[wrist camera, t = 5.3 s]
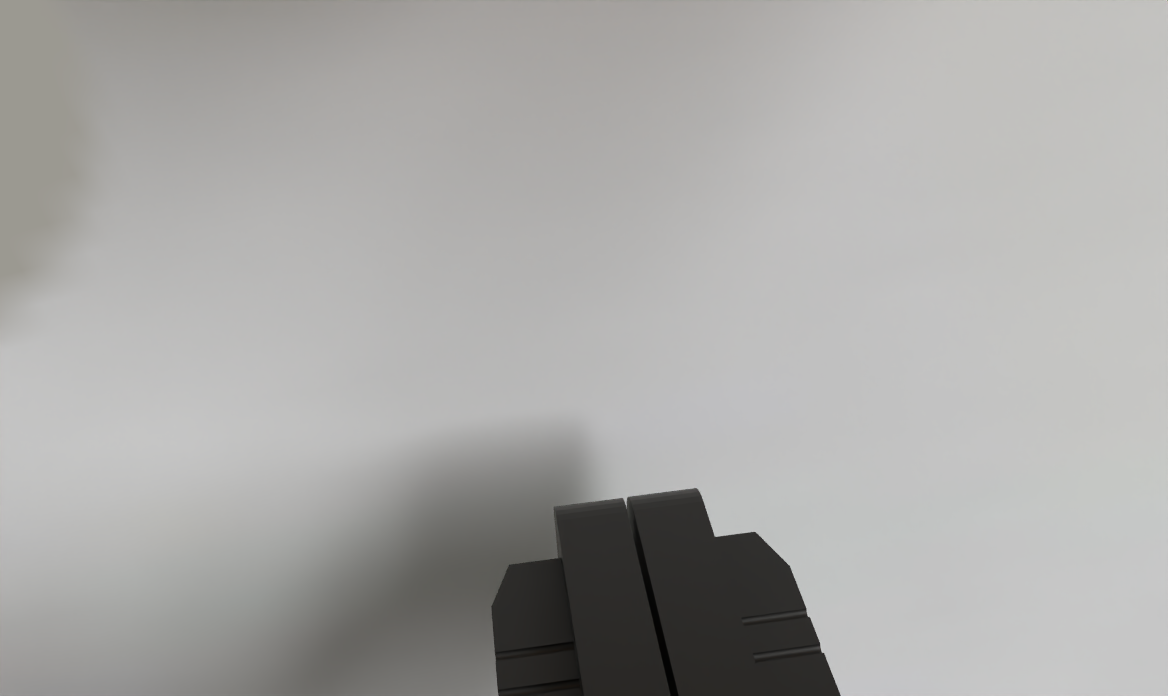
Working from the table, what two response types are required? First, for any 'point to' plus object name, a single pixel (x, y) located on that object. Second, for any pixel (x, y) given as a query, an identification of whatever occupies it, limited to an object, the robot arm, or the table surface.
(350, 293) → the table surface
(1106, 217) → the table surface
